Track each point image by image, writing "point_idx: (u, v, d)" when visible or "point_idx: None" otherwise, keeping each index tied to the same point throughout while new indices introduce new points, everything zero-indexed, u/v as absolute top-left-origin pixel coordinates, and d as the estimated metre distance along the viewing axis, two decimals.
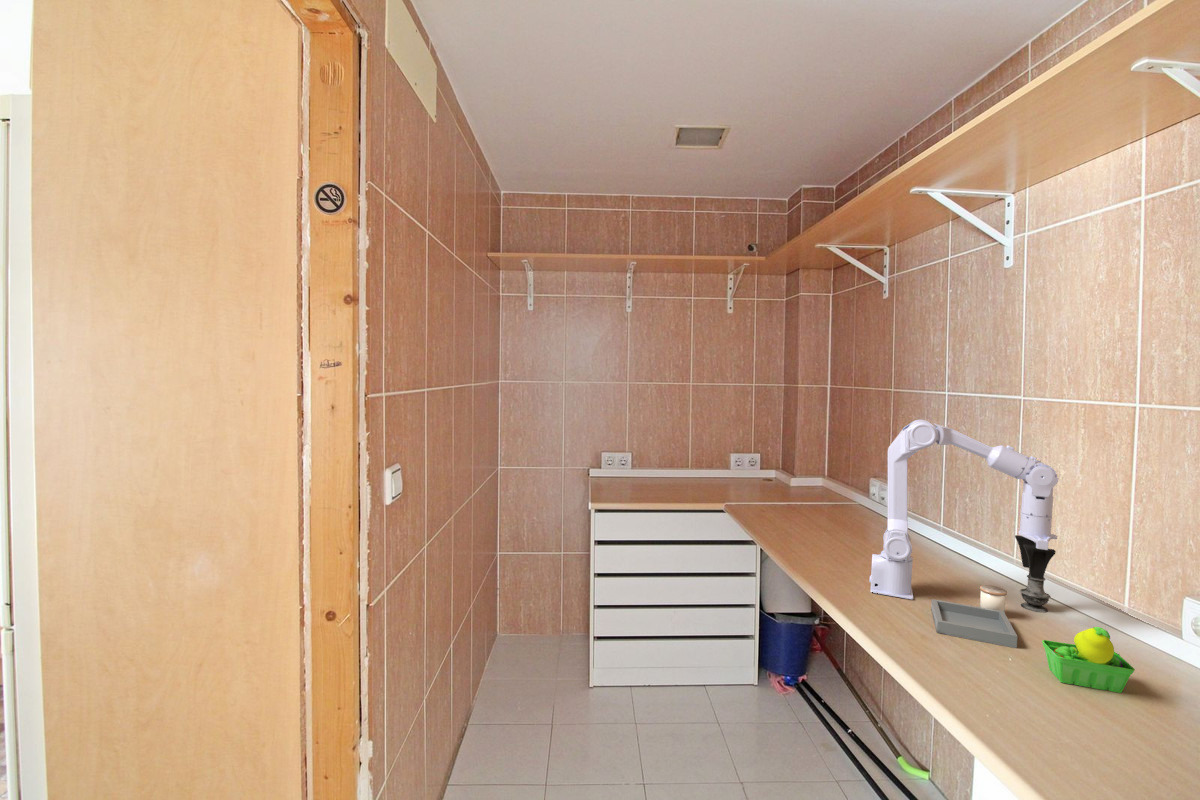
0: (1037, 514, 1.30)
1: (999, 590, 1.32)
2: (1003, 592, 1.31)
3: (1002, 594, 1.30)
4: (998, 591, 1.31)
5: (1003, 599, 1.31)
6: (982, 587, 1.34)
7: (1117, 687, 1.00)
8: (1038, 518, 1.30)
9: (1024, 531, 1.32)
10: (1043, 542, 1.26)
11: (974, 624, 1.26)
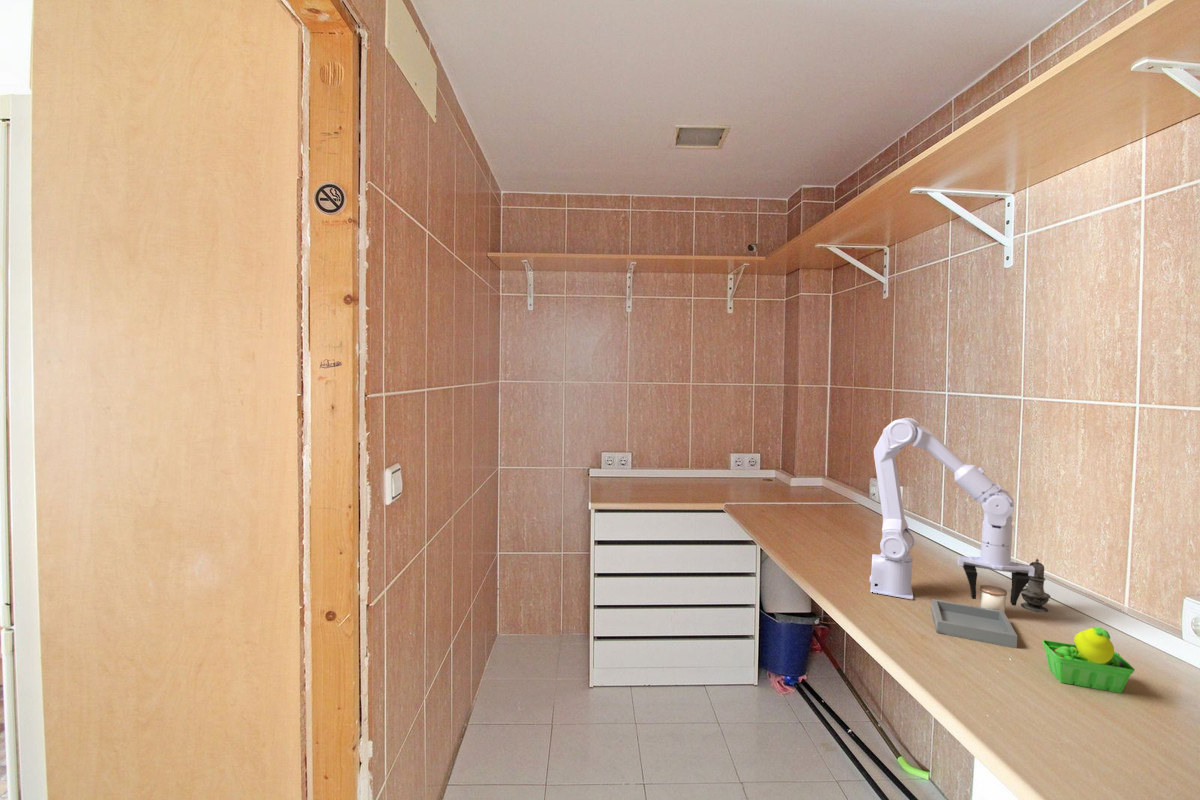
0: (993, 543, 1.30)
1: (999, 590, 1.32)
2: (1003, 592, 1.31)
3: (1002, 594, 1.30)
4: (998, 591, 1.31)
5: (1003, 599, 1.31)
6: (982, 587, 1.34)
7: (1116, 687, 1.00)
8: (981, 542, 1.34)
9: None
10: (958, 558, 1.36)
11: (974, 624, 1.26)
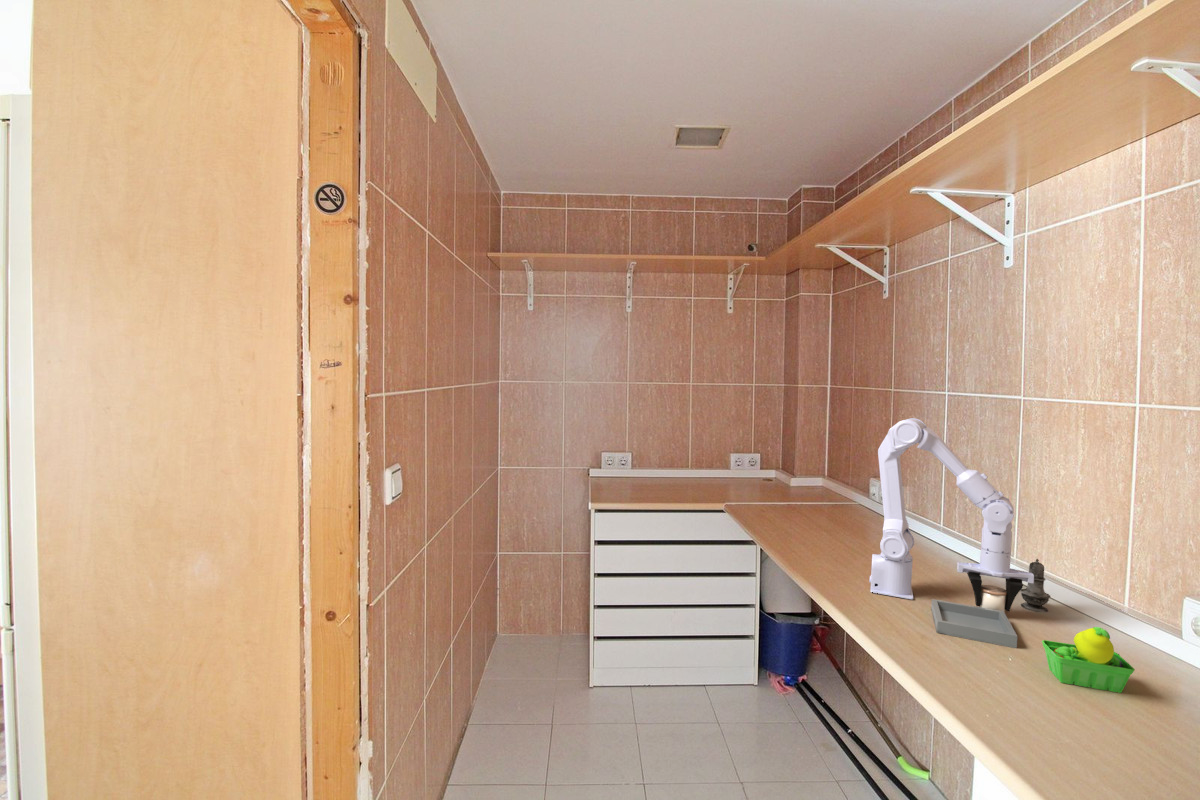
0: (993, 550, 1.30)
1: (999, 590, 1.32)
2: (1003, 592, 1.31)
3: (1002, 594, 1.30)
4: (998, 591, 1.31)
5: (1003, 599, 1.31)
6: (982, 587, 1.34)
7: (1116, 687, 1.00)
8: (981, 549, 1.34)
9: None
10: (957, 564, 1.36)
11: (974, 624, 1.26)
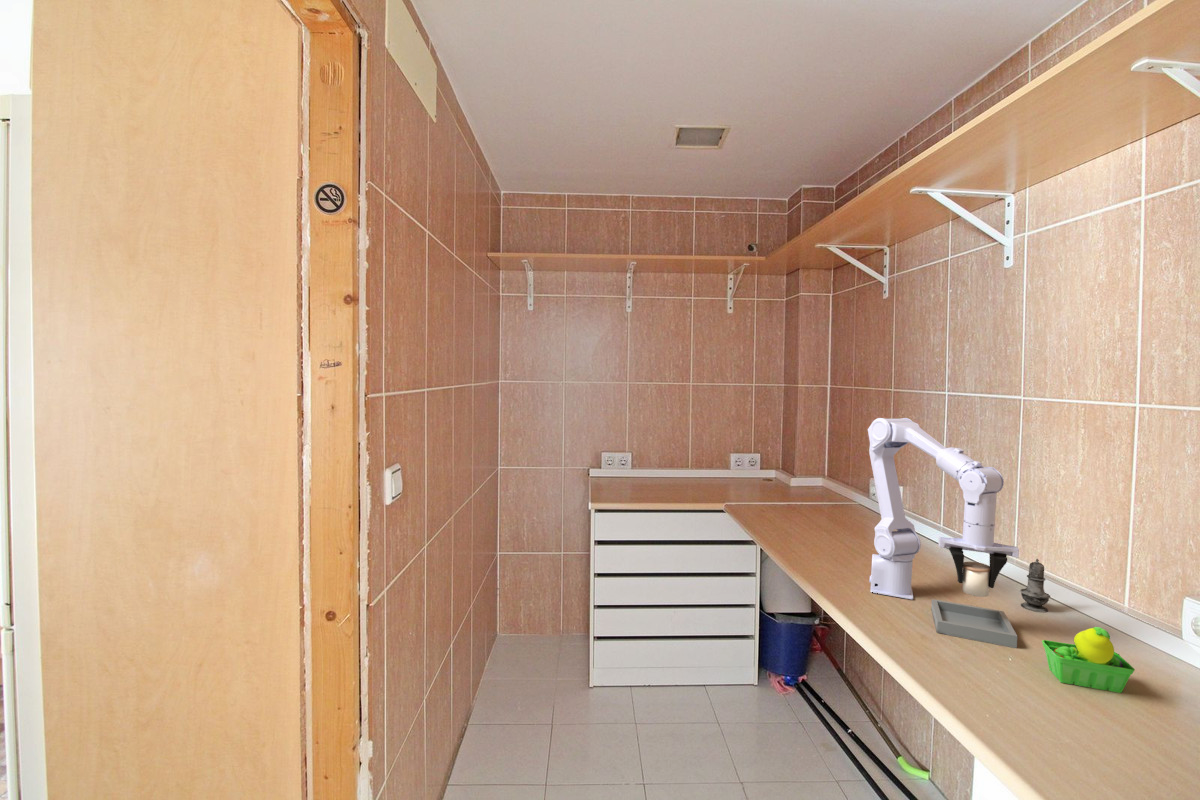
0: (968, 521, 1.24)
1: (981, 567, 1.25)
2: (986, 568, 1.24)
3: (984, 571, 1.23)
4: (980, 567, 1.24)
5: (986, 576, 1.24)
6: (964, 564, 1.27)
7: (1116, 687, 1.00)
8: (963, 522, 1.26)
9: None
10: (939, 539, 1.28)
11: (974, 624, 1.26)
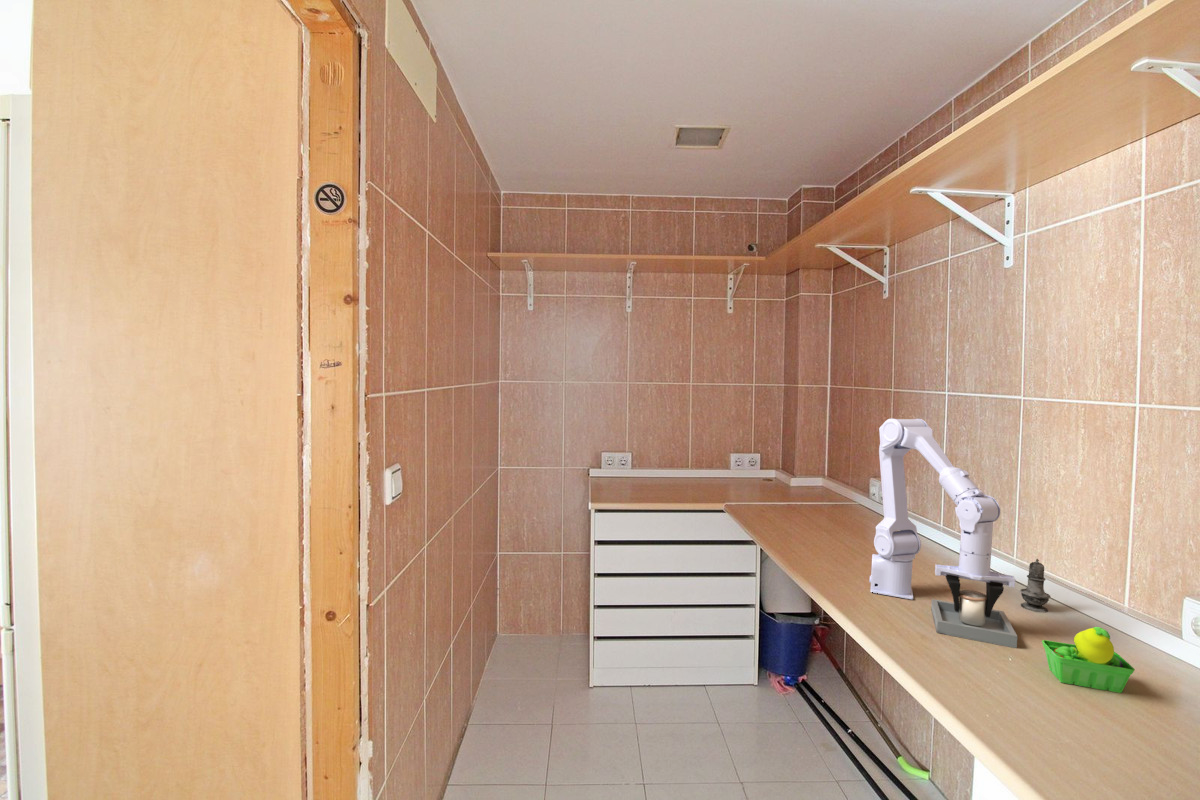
0: (964, 549, 1.24)
1: (978, 595, 1.24)
2: (982, 597, 1.23)
3: (980, 600, 1.23)
4: (977, 596, 1.24)
5: (982, 605, 1.23)
6: (961, 592, 1.26)
7: (1116, 687, 1.00)
8: None
9: None
10: (935, 567, 1.28)
11: None
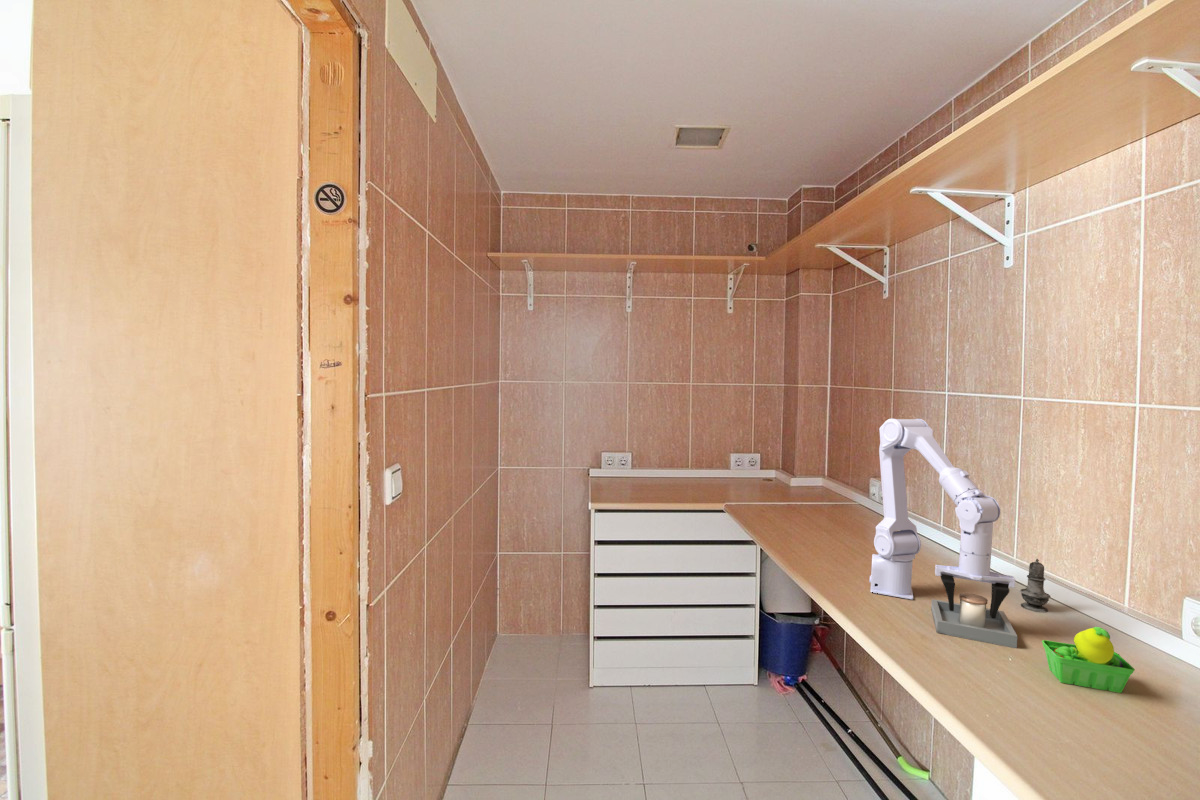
0: (964, 549, 1.24)
1: (979, 599, 1.24)
2: (983, 601, 1.23)
3: (981, 603, 1.23)
4: (978, 600, 1.24)
5: (983, 608, 1.23)
6: (961, 595, 1.26)
7: (1116, 687, 1.00)
8: None
9: None
10: (935, 567, 1.28)
11: None
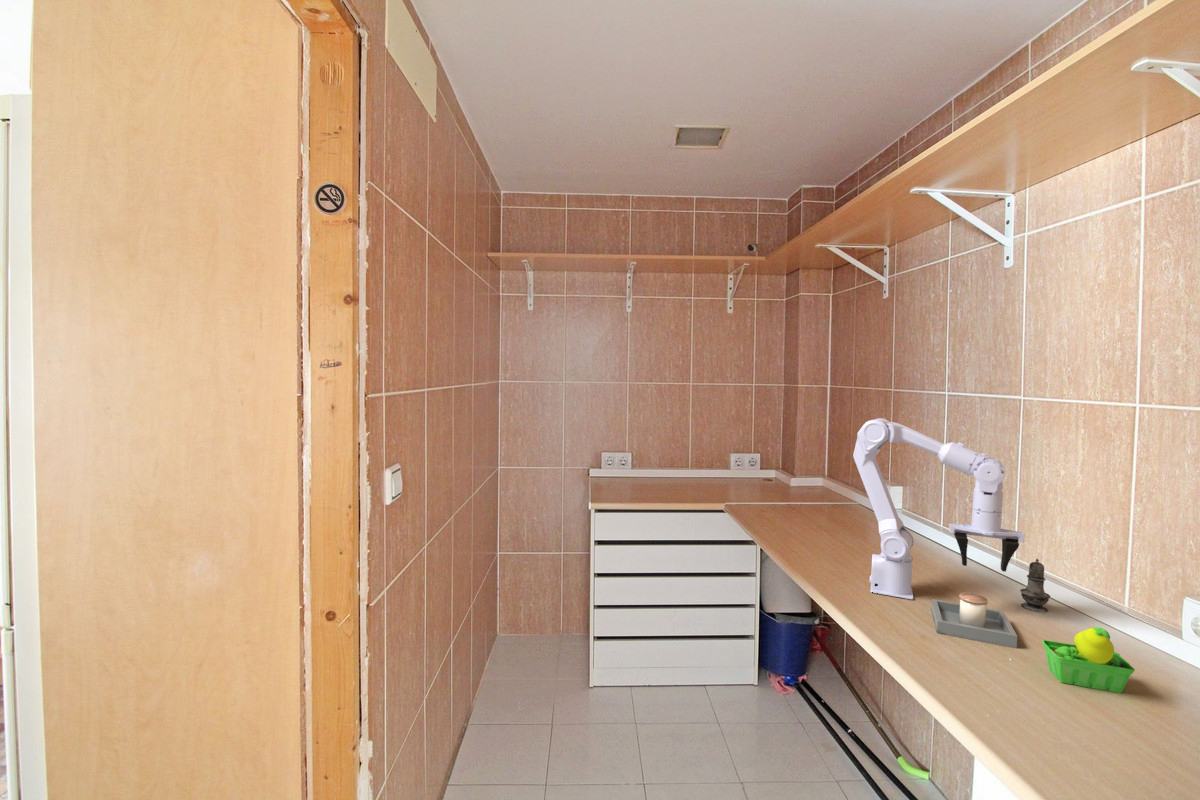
0: (984, 509, 1.32)
1: (979, 599, 1.24)
2: (983, 601, 1.23)
3: (981, 603, 1.23)
4: (978, 600, 1.24)
5: (983, 608, 1.23)
6: (962, 595, 1.26)
7: (1116, 687, 1.00)
8: (972, 510, 1.35)
9: None
10: (949, 525, 1.37)
11: None
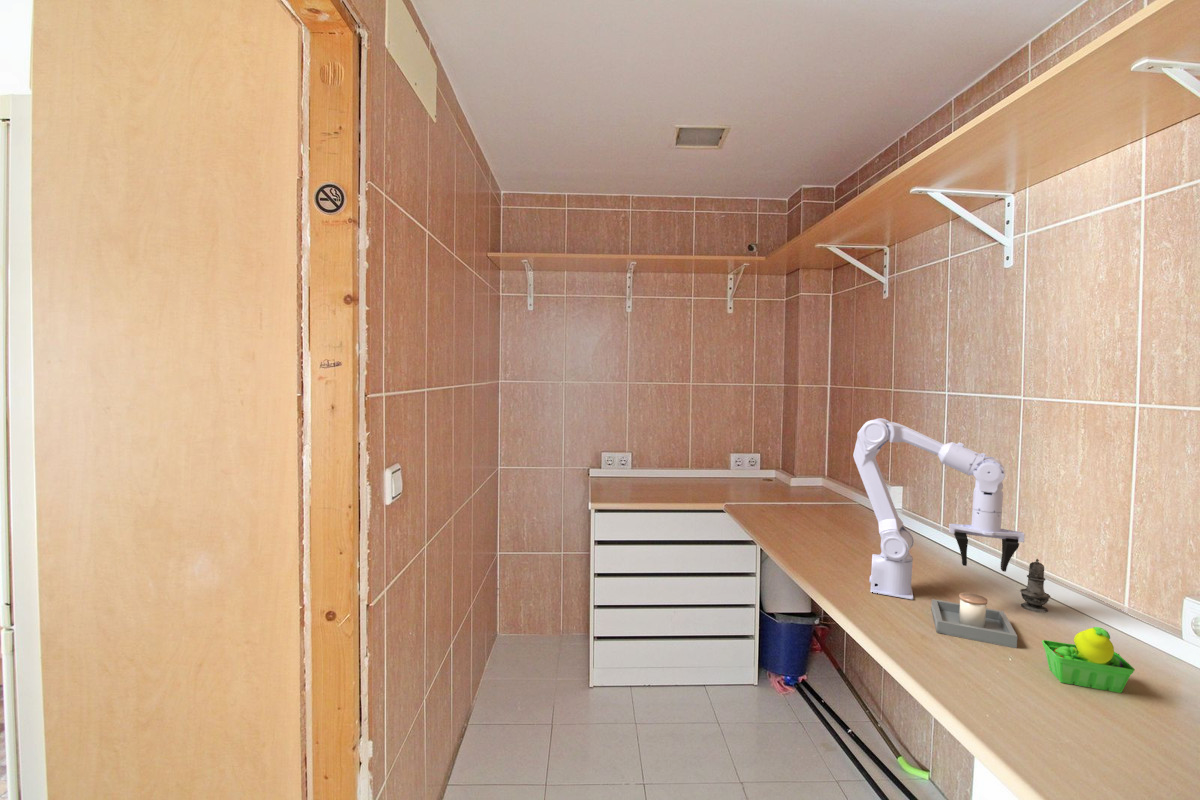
0: (984, 509, 1.32)
1: (979, 599, 1.24)
2: (983, 601, 1.23)
3: (981, 603, 1.23)
4: (978, 600, 1.24)
5: (983, 608, 1.23)
6: (961, 595, 1.26)
7: (1116, 687, 1.00)
8: (972, 509, 1.35)
9: None
10: (949, 525, 1.37)
11: None
